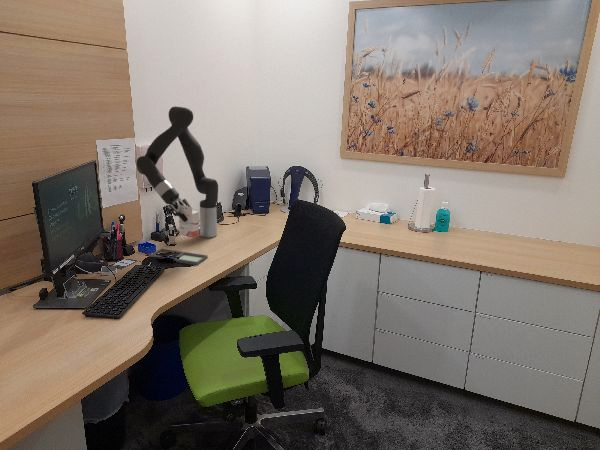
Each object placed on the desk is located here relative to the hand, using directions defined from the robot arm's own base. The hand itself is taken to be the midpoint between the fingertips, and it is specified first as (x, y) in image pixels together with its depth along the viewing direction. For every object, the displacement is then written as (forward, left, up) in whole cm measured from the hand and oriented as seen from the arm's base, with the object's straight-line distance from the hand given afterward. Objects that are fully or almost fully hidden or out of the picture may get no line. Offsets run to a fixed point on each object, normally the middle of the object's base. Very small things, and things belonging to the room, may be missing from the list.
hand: (189, 219), depth 206 cm
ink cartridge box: (0, 0, -8) cm, 8 cm away
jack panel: (0, -6, -21) cm, 22 cm away
